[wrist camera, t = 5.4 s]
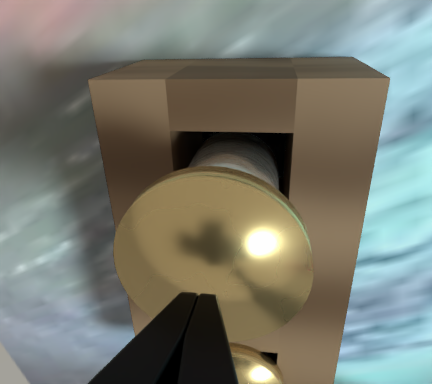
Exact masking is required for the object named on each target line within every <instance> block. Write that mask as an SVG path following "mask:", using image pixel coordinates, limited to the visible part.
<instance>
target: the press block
mask: <svg viewBox="0 0 432 384" xmlns="http://www.w3.org/2000/svg"><path fill="white" fill-rule="evenodd" d="M389 82H390V78H389V77H387V76H385V75H384V74H382V73H380V72H378V71H377V70H375V69H373V68H371V67H370V66H368V65H366V64H364V63H362V62H361V61H359V60H357V59H355V58H354V57H311V58H238V59H165V60H142V61H139V62H136V63H134V64H131V65H128V66H125V67H122V68H119V69H117V70H114V71H111V72H108V73H105V74H103V75H100V76H97V77H94V78H91V79H89V80H88V84H89V89H90V94H91V100H92V105H93V111H94V116H95V121H96V127H97V132H98V138H99V143H100V149H101V154H102V159H103V165H104V170H105V176H106V181H107V186H108V192H109V197H110V203H111V208H112V213H113V219H114V224H115V230H116V231H117V228H118V226H119V223H120V221H121V220H122V218H123V216H124V215H125V213H126V212H127V210H128V209H129V208H130V206H131V205H132V204H133V202H134V201H135V200H136V198H137V197H138V196H139V195H140V194H141V192H142V191H143V190H144V189H145V188H147V187H148V186H149V185H150V184H151V183H153V182H154V181H156V180H157V179H159V178H160V177H162V176H164V175H167V174H169V173H171V172H174V171H177V170H180V169H184V168H188V166H189V164H190V163H191V161H192V159H193V157H194V156H195V154H196V152H197V150H198V149H199V147H200V146H201V145H202V144H203V137H202V131H205V132H266V133H286V138H285V154H284V170H283V178H278V179H279V191H280V192H281V193H282V194H283V195H284V196H286V198H287V199H288V200H289V201H290V202H291V203H292V204H293V205H294V207H295V208H296V210H297V211H298V212H299V214H300V215H301V217H302V219H303V221H304V224H305V226H306V228H307V232H308V235H309V239H310V245H311V252H312V259H313V266H314V272H313V282H312V287H311V291H310V293H309V296H308V298H307V300H306V302H305V303H304V305H303V307H302V308H301V309H300V311H299V312H298V313H297V314H296V315H295V316H294V317H293V318H292V319H291V320H290V321H289V322H288V323H286V324H285V325H283V326H282V327H280V328H279V329H277V330H275V331H273V332H271V333H269V334H267V335H264V336H261V337H259V338H255V339H251V340H246V341H239V342H229V343H238V344H243V345H247V346H249V347H252V348H255V349H257V350H259V351H262V352H268V356H269V357H270V358H271V359H272V360H273V361H274V362H275V363H276V364H277V365H278V367H279V368H280V370H281V372H282V375H283V379H284V384H333V383H334V378H335V372H336V367H337V362H338V356H339V351H340V346H341V340H342V335H343V329H344V324H345V319H346V313H347V308H348V303H349V297H350V292H351V286H352V281H353V276H354V270H355V265H356V259H357V254H358V249H359V243H360V238H361V233H362V227H363V222H364V216H365V211H366V206H367V200H368V195H369V190H370V184H371V179H372V173H373V168H374V163H375V157H376V152H377V146H378V141H379V136H380V130H381V125H382V120H383V114H384V109H385V103H386V98H387V93H388V87H389ZM127 295H128V294H127ZM128 300H129V305H130V311H131V316H132V322H133V327H134V332H135V336H136V335H137V334H138V333H139V332H140V331H141V330H142V329H143V328H144V327H145V326H146V325H148V324H149V323H150V322H151V321H152V320H153V319H152V318H151V317H149V316H148V315H147V314H146V313H145V312H143V311H142V310H141V309H140V308H139V307H138V306H137V305H136V304H135V303H134V302H133V300H132V299H131V298H130V296H129V295H128Z"/></svg>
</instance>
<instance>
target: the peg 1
mask: <svg viewBox="0 0 432 384" xmlns="http://www.w3.org/2000/svg"><path fill="white" fill-rule="evenodd" d="M113 256H114V264H115V268H116V271H117V274H118V277H119V279H120V282H121V284H122V285H123V287H124V289H125V291H126V292H127V294H128V295H129V296H130V298H131V299H132V300H133V302H134V303H135V304H136V305H137V306H138V307H139V308H140V309H141V310H142V311H143V312H145V313H146V314H147V315H148V316H149V317H151V318H152V319H154V318H155V317H156V316H157V315H158V314H159V313H160V312H161V311H162V310H163V309H164V308H165V307H166V306H167V305H168V304H169V303H170V302H171V301H172V300H173V299H174V298H175V297H176V296H177V295H178V294H179V293H181V292H194V293H197V294H198V295H200V294H201V293H206V294H215V295H217V297H218V300H219V304H220V308H221V312H222V317H223V321H224V325H225V329H226V333H227V337H228V341H229V342H239V341H246V340H251V339H255V338H259V337H261V336H264V335H267V334H269V333H271V332H273V331H275V330H277V329H279V328H280V327H282V326H283V325H285V324H286V323H288V322H289V321H290V320H291V319H292V318H293V317H294V316H295V315H296V314H297V313H298V312H299V311H300V309H301V308H302V307H303V305H304V303H305V302H306V300H307V298H308V296H309V293H310V291H311V287H312V282H313V272H314V266H313V259H312V252H311V245H310V239H309V235H308V232H307V228H306V226H305V224H304V221H303V219H302V217H301V215H300V214H299V212H298V211H297V210H296V208H295V207H294V205H293V204H292V203H291V202H290V201H289V200H288V199H287V198H286V196H284V195H283V194H282V193H281V192H280V191H279V179H278V164H277V160H276V157H275V155H274V153H273V152H272V150H271V148H270V147H269V146H268V145H267V144H266V143H265V142H264V141H263V140H261V139H260V138H258V137H257V136H255V135H253V134H250V133H247V132H221V133H217V134H215V135H213V136H211V137H210V138H208V139H207V140H206V141H205V142H204V143H203V144H202V145H201V146H200V147H199V149H198V150H197V152H196V154H195V156H194V157H193V159H192V161H191V163H190V164H189V166H188V168H184V169H180V170H177V171H174V172H171V173H169V174H167V175H164V176H162V177H160V178H159V179H157V180H156V181H154V182H153V183H151V184H150V185H149V186H148V187H147V188H145V189H144V190H143V191H142V192H141V194H140V195H139V196H138V197H137V198H136V200H135V201H134V202H133V204H132V205H131V206H130V208H129V209H128V210H127V212H126V213H125V215H124V216H123V218H122V220H121V221H120V223H119V226H118V228H117V231H116V234H115V239H114V246H113Z"/></svg>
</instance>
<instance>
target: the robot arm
mask: <svg viewBox="0 0 432 384" xmlns="http://www.w3.org/2000/svg"><path fill="white" fill-rule="evenodd" d="M88 384H239V382H238V378H237V374H236V370H235V366H234V362H233V357H232V353H231V349H230V345H229V341H228V337H227V333H226V329H225V325H224V321H223V317H222V312H221V308H220V304H219V300H218V297H217V295H215V294H206V293H201V294H200V295H198V294H197V293H194V292H181V293H179V294H178V295H177V296H176V297H175V298H174V299H173V300H172V301H171V302H170V303H169V304H168V305H167V306H166V307H165V308H164V309H163V310H162V311H161V312H160V313H159V314H158V315H157V316H156V317H155V318H154V319H153V320H152V321H151V322H150V323H149V324H148V325H146V326H145V327H144V328H143V329H142V330H141V331H140V332H139V333H138V334H137V335H136V336H135V337H134V338H133V339H132V340H131V341H130V342H129V343H128V344H127V345H126V346H125V347H124V348H123V349H122V350H121V351H120V352H119V353H118V354H117V355H116V356H115V357H114V358H113V359H112V360H111V361H110V362H109V363H108V364H107V365H106V366H105V367H104V368H103V369H102V370H101V371H100V372H99V373H98V374H97V375H96V376H95V377H94V378H93V379H92V380H91V381H90V382H89V383H88Z"/></svg>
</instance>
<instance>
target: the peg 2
mask: <svg viewBox="0 0 432 384" xmlns="http://www.w3.org/2000/svg"><path fill="white" fill-rule="evenodd" d="M229 345H230V349H231V353H232V357H233V362H234V366H235V370H236V374H237V378H238V382H239V384H284V379H283V375H282V372H281V370H280V368H279V367H278V365H277V364H276V363H275V362H274V361H273V360H272V359H271V358H270V357H269V356H268V352H262V351H259V350H257V349H255V348H252V347H249V346H247V345H243V344H238V343H229Z"/></svg>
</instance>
